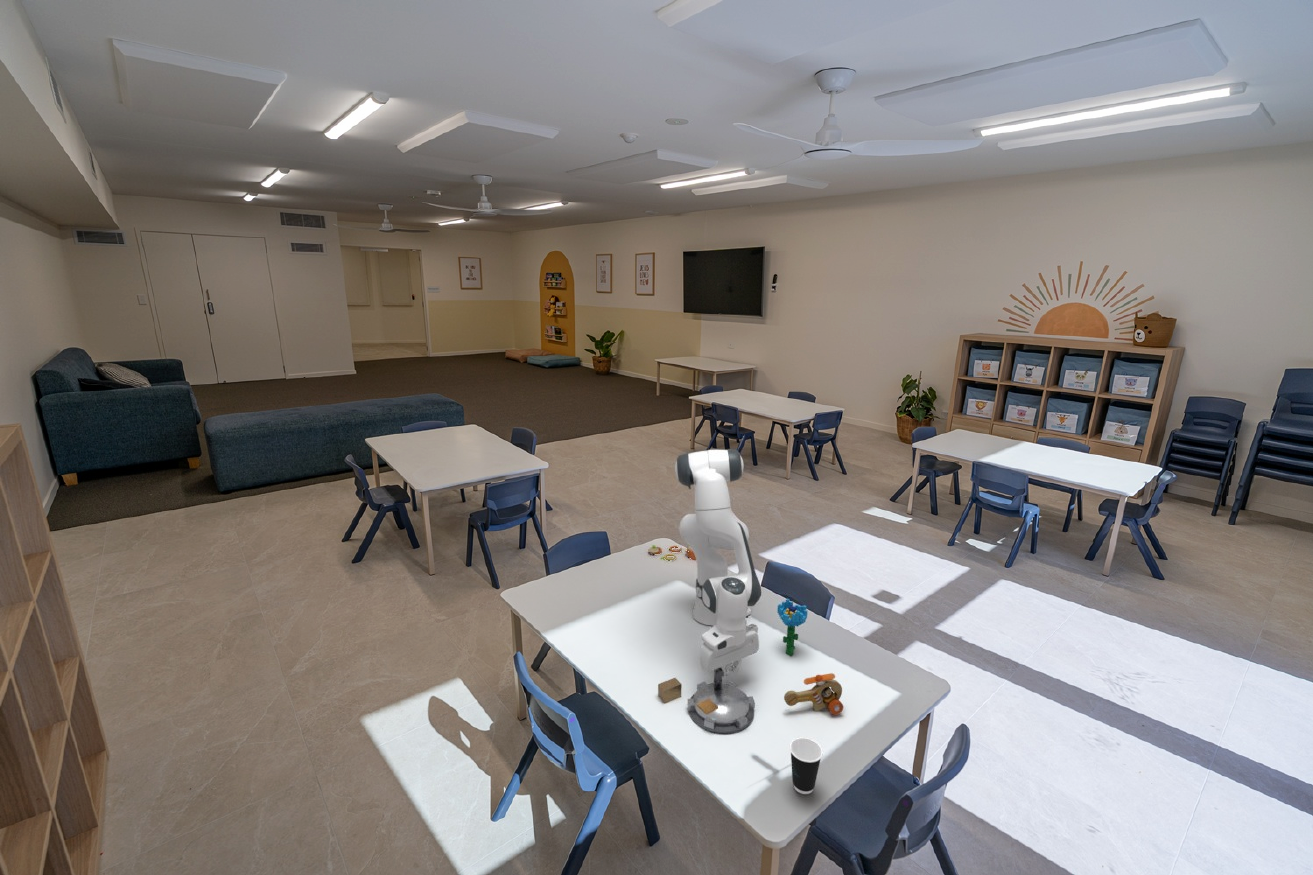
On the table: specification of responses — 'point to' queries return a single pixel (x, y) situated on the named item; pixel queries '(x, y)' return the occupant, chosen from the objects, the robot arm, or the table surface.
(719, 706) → the sprocket
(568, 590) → the table surface
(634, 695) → the table surface
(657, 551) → the toy tea set
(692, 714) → the sprocket base
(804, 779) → the dixie cup
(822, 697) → the toy helicopter
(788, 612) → the toy flower
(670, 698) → the wooden block
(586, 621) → the table surface
